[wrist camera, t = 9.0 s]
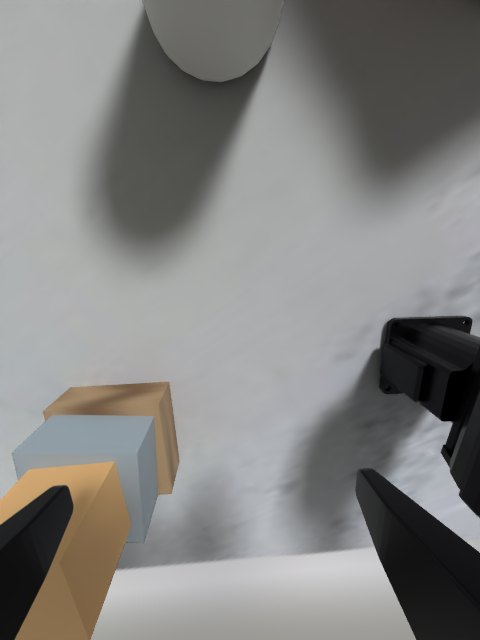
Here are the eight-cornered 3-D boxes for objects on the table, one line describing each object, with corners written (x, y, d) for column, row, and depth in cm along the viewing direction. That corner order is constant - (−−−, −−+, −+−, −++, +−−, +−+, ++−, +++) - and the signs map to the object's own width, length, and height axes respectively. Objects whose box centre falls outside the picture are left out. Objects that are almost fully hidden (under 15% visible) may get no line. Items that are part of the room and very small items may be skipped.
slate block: (154, 415, 18) (137, 453, 15) (158, 493, 20) (143, 542, 17) (52, 414, 18) (11, 452, 15) (66, 493, 20) (32, 543, 16)
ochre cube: (114, 461, 15) (59, 562, 10) (131, 525, 16) (89, 641, 11) (28, 469, 15) (-69, 575, 10) (52, 533, 16) (-24, 653, 11)
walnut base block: (169, 380, 21) (158, 404, 18) (179, 458, 23) (171, 493, 20) (72, 385, 21) (42, 411, 18) (91, 464, 23) (68, 500, 20)
